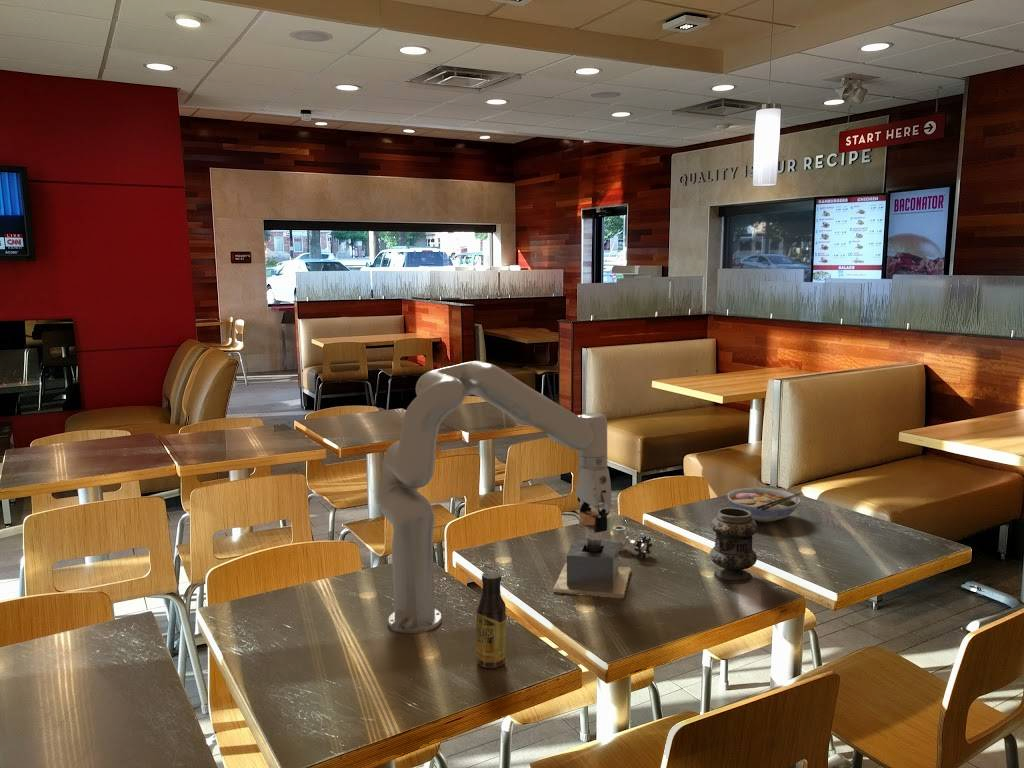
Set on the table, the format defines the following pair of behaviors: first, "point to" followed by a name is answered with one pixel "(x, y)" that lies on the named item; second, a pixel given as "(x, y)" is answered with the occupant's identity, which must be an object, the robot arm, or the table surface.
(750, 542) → the apothecary jar
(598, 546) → the pin
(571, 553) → the block
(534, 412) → the robot arm
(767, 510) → the ramen bowl
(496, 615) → the sauce bottle
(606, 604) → the table surface
